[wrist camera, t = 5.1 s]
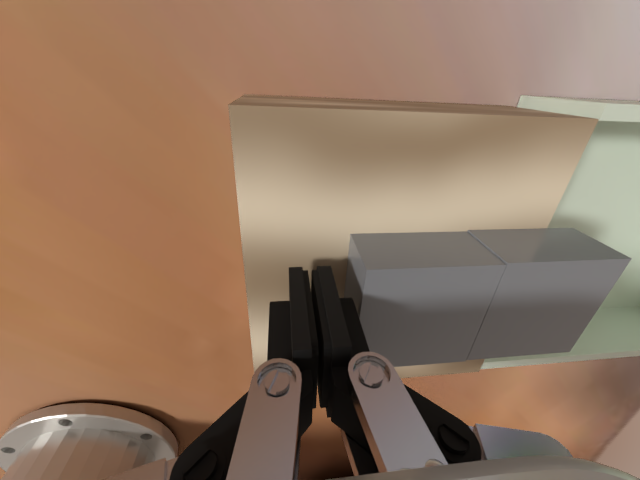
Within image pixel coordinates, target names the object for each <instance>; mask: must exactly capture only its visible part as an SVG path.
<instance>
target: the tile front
mask: <svg viewBox="0 0 640 480" xmlns="http://www.w3.org/2000/svg"><path fill="white" fill-rule="evenodd" d="M505 267H506V264H505V263H504V262H503V261H501V260H500V259H499V258H498V257H497V256H496V255H494V254H493V253H492V252H491V251H490V250H488V249H487V248H486V247H485V246H484V245H482V244H481V243H480V242H479V241H478V240H476V239H475V238H474V237H473V236H472V235H471V234H469V233H468V232H467V231H460V232H411V233H362V234H350V242H349V252H348V261H347V271H346V280H345V290H344V298H350V297H352V299H353V301H354V304H355V307H356V310H357V313H358V316H359V319H360V322H361V325H362V329H363V332H364V335H365V338H366V341H367V344H368V347H369V350H370V352H374V353H378V354H380V355H382V356H384V357H385V358H386V359H388V360H389V361H390V362H391V364H392V365H393V366H394V367H402V366H414V365H426V364H439V363H451V362H464V361H466V359H467V357H468V355H469V352H470V350H471V348H472V345H473V343H474V340H475V338H476V336H477V333H478V331H479V329H480V326H481V324H482V322H483V319H484V317H485V315H486V312H487V310H488V307H489V305H490V303H491V300H492V298H493V296H494V293H495V291H496V289H497V286H498V284H499V282H500V279H501V277H502V274H503V272H504V270H505Z"/></svg>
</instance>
